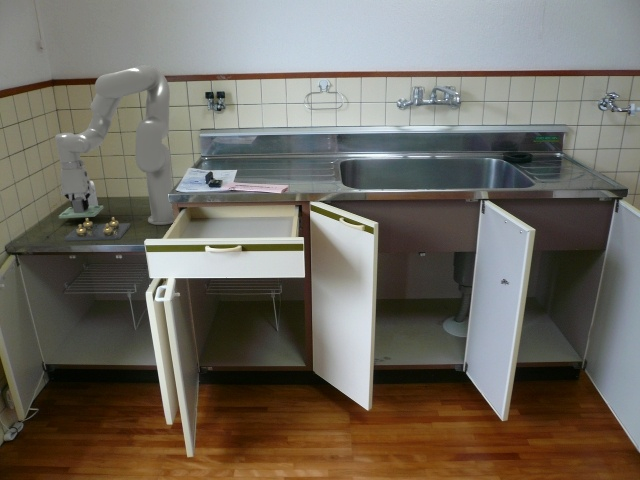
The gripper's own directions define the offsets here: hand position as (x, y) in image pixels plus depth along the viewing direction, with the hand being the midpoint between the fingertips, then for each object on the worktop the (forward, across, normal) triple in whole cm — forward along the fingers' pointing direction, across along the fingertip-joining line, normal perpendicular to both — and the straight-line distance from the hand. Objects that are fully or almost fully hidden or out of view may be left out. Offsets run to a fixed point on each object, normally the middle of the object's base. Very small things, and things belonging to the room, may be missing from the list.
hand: (81, 208), depth 215 cm
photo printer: (+5, +5, -16) cm, 18 cm away
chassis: (+5, -11, +15) cm, 19 cm away
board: (+2, 0, 0) cm, 2 cm away
